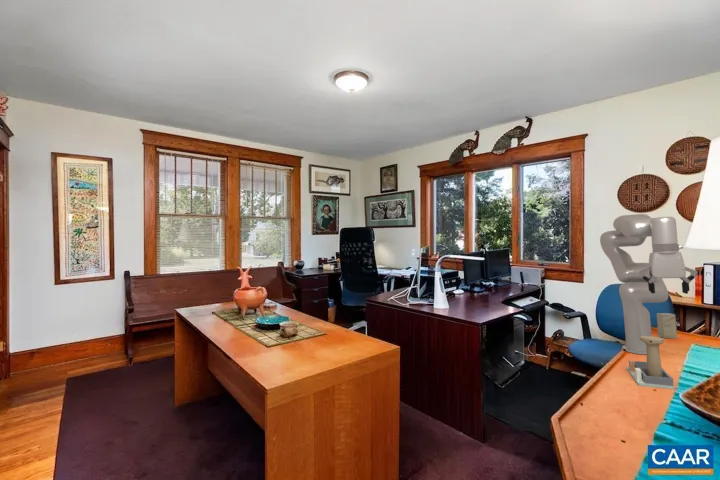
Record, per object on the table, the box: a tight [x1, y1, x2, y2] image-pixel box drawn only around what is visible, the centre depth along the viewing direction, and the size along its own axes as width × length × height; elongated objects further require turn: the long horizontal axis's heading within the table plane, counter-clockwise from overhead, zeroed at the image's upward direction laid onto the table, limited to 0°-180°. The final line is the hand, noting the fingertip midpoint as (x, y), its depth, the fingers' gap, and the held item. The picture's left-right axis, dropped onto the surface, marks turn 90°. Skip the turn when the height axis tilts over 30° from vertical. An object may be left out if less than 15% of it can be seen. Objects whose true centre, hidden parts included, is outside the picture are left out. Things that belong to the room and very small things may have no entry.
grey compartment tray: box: [626, 359, 675, 390], centre depth 127 cm, size 18×10×4 cm, turn 153°
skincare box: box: [656, 312, 678, 339], centre depth 177 cm, size 6×4×12 cm
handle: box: [640, 335, 665, 377], centre depth 123 cm, size 5×6×15 cm
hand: (668, 293), depth 132 cm, fingers open, 9 cm apart
